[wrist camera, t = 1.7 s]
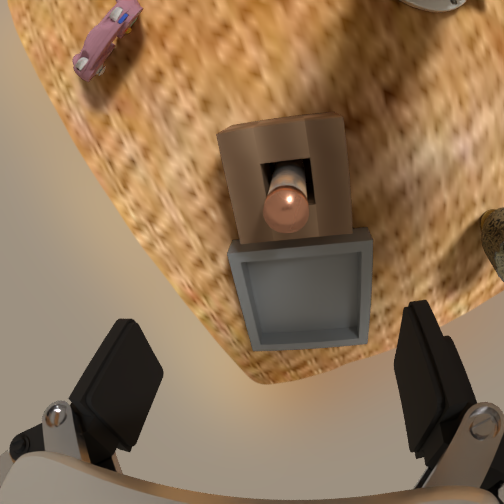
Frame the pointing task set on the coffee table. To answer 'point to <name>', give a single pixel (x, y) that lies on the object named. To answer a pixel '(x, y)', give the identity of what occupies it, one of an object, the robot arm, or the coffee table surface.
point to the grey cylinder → (287, 197)
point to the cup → (494, 238)
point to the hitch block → (280, 149)
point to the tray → (305, 290)
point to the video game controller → (105, 38)
